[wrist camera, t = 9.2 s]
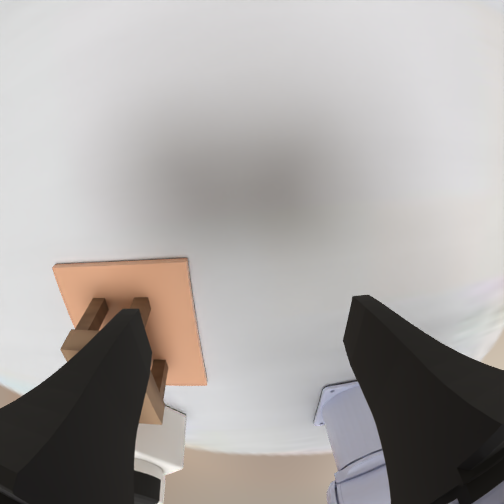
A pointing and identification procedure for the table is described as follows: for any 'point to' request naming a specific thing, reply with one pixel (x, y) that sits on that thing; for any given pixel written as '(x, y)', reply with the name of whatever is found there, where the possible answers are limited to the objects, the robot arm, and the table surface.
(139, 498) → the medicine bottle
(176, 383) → the terracotta tile
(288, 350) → the table surface
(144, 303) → the brown slotted block
